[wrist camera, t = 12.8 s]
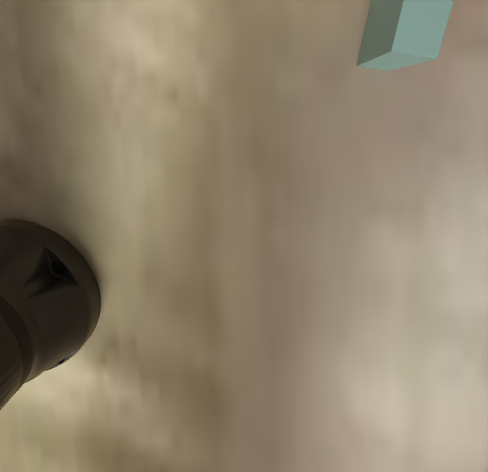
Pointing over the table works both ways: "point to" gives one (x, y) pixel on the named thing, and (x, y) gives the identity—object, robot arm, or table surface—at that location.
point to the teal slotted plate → (403, 33)
